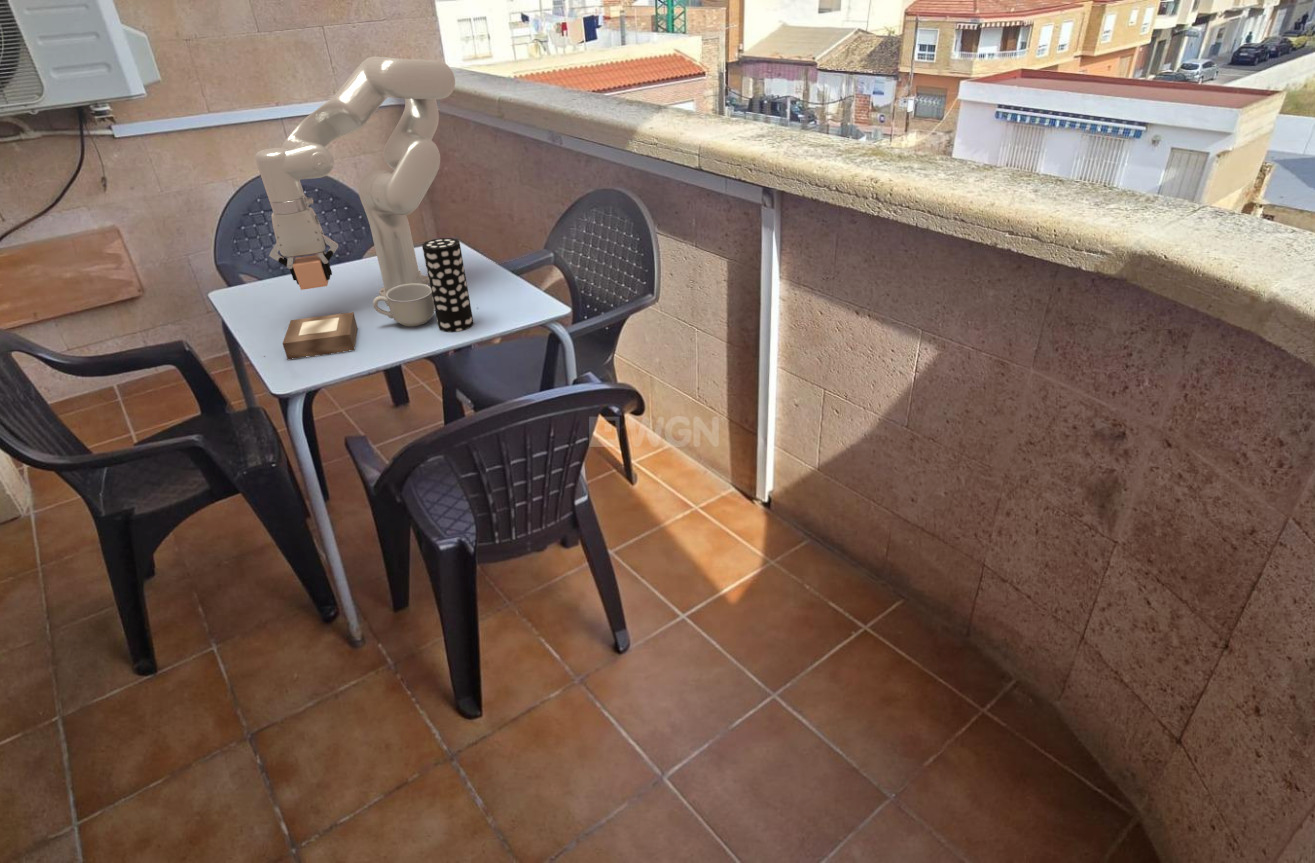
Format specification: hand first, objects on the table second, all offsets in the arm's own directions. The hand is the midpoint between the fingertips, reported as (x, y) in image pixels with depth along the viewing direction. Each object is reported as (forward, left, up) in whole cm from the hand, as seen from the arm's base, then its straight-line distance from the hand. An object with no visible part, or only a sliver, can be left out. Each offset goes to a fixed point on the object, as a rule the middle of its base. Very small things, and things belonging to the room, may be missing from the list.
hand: (314, 279), depth 177 cm
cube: (0, 0, -1) cm, 1 cm away
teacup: (-20, +10, -10) cm, 25 cm away
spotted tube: (-31, +16, -10) cm, 37 cm away
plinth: (-1, +16, -10) cm, 19 cm away
